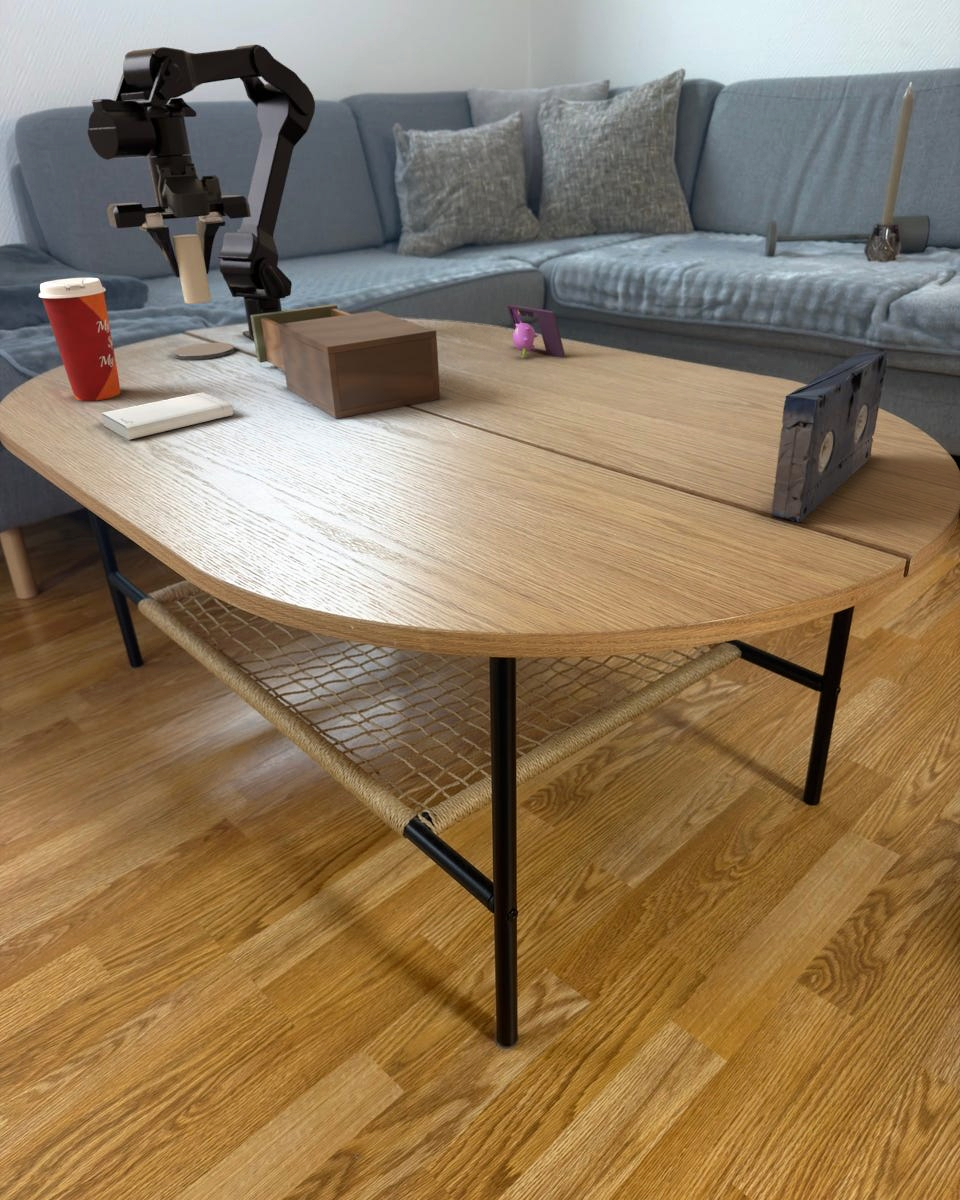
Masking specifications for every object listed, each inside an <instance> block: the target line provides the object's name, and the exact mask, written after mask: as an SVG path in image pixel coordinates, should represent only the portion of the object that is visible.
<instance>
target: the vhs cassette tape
mask: <svg viewBox="0 0 960 1200" xmlns="http://www.w3.org/2000/svg"><path fill="white" fill-rule="evenodd" d="M887 359H888V351H887V352H886V351H879V350H868V349H861V350H860V351H859V352H858V353H855V354H853V355H852V356H850V357H848V358H847V359H845V360H843V361H842V362H840V363H839V364H837V365H835V366H833V367H831V368H829V369H827V370H826V371H825V372H823V373H822V374H821V375H819V376H816V377H814V378H813V379H812V380H811V381H810V382H809V383H808V384H807V385H803V386H801V387H799V388H797V389H795V390H794V391H792V392H790V393H789V394H787V395H785V400H784V404H783V410H782V419H781V424H782V427H781V430H780V434H779V436H780V437H779V443H778V453H777V463H776V470H775V477H774V479H775V482H774V484H773V485H774V487H773V495H772V496H773V497H772V503H771V512H770V515H771V516H772V517H776V518H781V519H785V520H789V521H792V522H796V521H797V523H801V522H802V521H803V520H804V519H806V518H807V517H808V516H809V514H811V513H812V512H814V511H815V509H816V508H818V507H819V506H820V505H821V504H822V503H824V501H826V500H827V499H828V498H829V497H830V496H831V495H832V494H833V493H834V492H835V491H836V490H837V489H838V488H839V487H841V486H842V485H843V484H844V483H845V482H846V481H847V480H849V478H851V477H852V476H853V475H854V474H855V473H856V472H857V471H858V470H859V469H861V468H862V467H863V466H864V465H865V464H866V463H867V462H868V461H869V460H870V458H871V455H872V447H873V442H874V439H873V438H874V437H873V436H874V435H875V431H876V426H877V420H878V415H879V408H880V402H881V397H882V388H884V386H883V385H884V380H885V376H886V374H887V362H888V360H887Z"/></svg>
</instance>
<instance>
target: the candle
mask: <svg viewBox="0 0 960 1200" xmlns="http://www.w3.org/2000/svg"><path fill="white" fill-rule="evenodd" d="M171 239H172V245H173V250H174V254H175V257H176V261H177V264H178V269H179V275H180V277H179V280H180V284H181V291H182V295H183V300H184V304H187V305H198V304H204V303H205V304H206V303H209V302H211V301H212V296H211V291H210V285H209V279H208V274H207V273H206V268H205V262H204V256H203V251H202V245H201V240H200V235H197V233H196V234H194V233H193V234H180V235H174V236H172V237H171Z"/></svg>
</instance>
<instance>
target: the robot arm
mask: <svg viewBox="0 0 960 1200" xmlns="http://www.w3.org/2000/svg"><path fill="white" fill-rule="evenodd" d="M122 66H123V67H122V74H121V78H120V81H119V83H118V86H117V88H116V92H115V96H114V98H113V99H110V98H100V99H92V101H91V104H92V108H93V111H92V112H91V113H90V116H89V118H88V128H87V136H88V139H89V142H90V144H91V147H92V149H93V150H94V152H95V153H96V154H97V155H98V157H100V158H102V159H104V160H110V161H111V160H123V159H124V160H125V159H141V158H145V157H147V160H148V168H149V173H150V174H151V179H152V184H153V189H154V195H155V197H154V198H155V204H156V205H152V206H143V204H142V203H140V202H134V201H133V202H122V203H120V202H119V203H110V204H109V205H108V207H107V209H106V212H107V217H108V222H109V225H110V227H113V228H115V229H127V228H139V231H142V232H144V233H148V234H149V235H150V237H151V239H152V240H153V241H154V243H155V244H156V245H157V246H158V249H159V250H160V252H161V253H162V255H163V257H164V259H165V260H166V262H167V264H168V266H169V268H170V270H171V271H172V274H174V277H176V278H180V275H179V269H178V264H177V260H176V254H175V249H174V246H173V243H172V240H171V235H170V227H169V226H167V225H165V224H164V220H173V219H186V218H196V217H198V220H195V228H196V235H200V240H201V245H202V251H203V256H204V262H205V268H206V273H207V275H208V274H209V272H210V264H211V258H212V251H213V246H214V241H215V237H216V234H217V232H218V230H219V229H220V227H225V226H226V221H223V217H227V218H229V219H230V220H232V219H242V221H241V225H240V227H239V228H238V229H237V230H236V231H235V232H234V231H232V232H231V231H226V232H225V233H224V234H223V237H222V246H221V250H220V252H219V254H218V255H217V258H218V259H220V260H219V272H220V274H221V275H222V277H223V280H224V281H225V283H226V286H227V287H228V289H229V292H230V294H231V296H232V297H233V298H243V303H244V309H245V316H246V321H247V328H248V330H244V331H242V335H243V336H245V337H247V338H248V339H250V340H252V341H254V335H253V329H252V323H251V315H256V314H263V313H271V312H279V311H283V309H282V303H281V302H282V301H281V299H285V298H286V297H290V296H291V294H292V287H293V286H292V280H291V279H289V277H288V276H287V275H286V274H285V273H284V272H283V271H282V270H281V269H280V268H279V266H278V263H279V253H278V249H277V245H276V242H275V239H274V234H275V230H276V225H277V221H278V217H279V212H280V208H281V203H282V200H283V195H284V191H285V190H284V189H285V186H286V183H287V178H288V173H289V171H290V170H289V169H290V164H291V161H292V157H293V153H294V149H295V147H296V145H298V143H299V142H300V141H301V140H302V139H303V137H304V136H305V135H306V134H307V132H308V131H309V128H310V126H311V123H312V121H313V118H314V116H315V110H316V101H315V98H314V95H313V92H312V91H311V90H310V88H309V87H308V85H307V83H305V82H303V80H302V79H301V78H300V77H299V76H298V75H297V73H296V72H295V71H293V70H292V69H290V68H289V67H287V66H286V65H284V63H281V62H280V61H279V60H278V59H276V58H275V57H274V56H273V55H272V54H271V52H270V51H269V50H268V49H267V48H266V47H265V46H262V45H260V44H249V45H240V46H236V47H235V48H231V49H230V48H229V49H224V50H223V49H222V50H214V51H205V52H195V53H194V52H189V51H186V50H184V49H178V48H173V47H165V46H160V47H153V48H152V47H151V48H143V49H135V50H131V51H128V52H127V53H126V54H125V55H124V60H123V65H122ZM260 78H262V79H263V80H264V81H265V82H266V84H265V83H264V82H263V81H262V79H260ZM234 79H239V80H241V81H242V83H243V87H244V89H245V92H246V93H245V94H246V96H247V97H248V99H249V101H251V102H252V103H253V104H254V105H255V107H256V108H257V109H256V120H257V124H258V127H259V130H260V134H261V138H260V143H259V148H258V151H257V156H256V161H255V165H254V169H253V174H252V177H251V181H250V186H249V190H248V191H249V192H248V195H247V198H246V197H245V196H244V195H238V194H227V195H222V189H221V184H220V180H219V178H218V176H217V175H215V174H210V175H202V176H201V179H200V178H199V177H198V175H197V172H196V171H197V170H196V167H195V163H194V162H193V158H192V155H191V154H192V153H191V147H190V140H189V136H188V131H187V130H188V129H187V124H186V118H196V117H197V112H196V110H195V109H194V108H192V107H191V106H190V105H188V103H187V102H186V101H185V100H184V99H183V98H182V97H181V96H184V95H185V94H188V93H190V92H193V91H194V89H196V88H197V87H198V86H200V85H204V84H209V83H215V82H223V81H228V80H229V81H230V80H234ZM148 108H149V109H148Z"/></svg>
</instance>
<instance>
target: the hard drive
mask: <svg viewBox="0 0 960 1200" xmlns="http://www.w3.org/2000/svg"><path fill="white" fill-rule="evenodd" d="M233 415H234V408H233V405H232V404H231V403H230V402H228V401H226V400H223V399H221V398H218V397H216V396H214V395H211V394H208V393H206V392H203V391H201V392H197V393H191V394H186V395H183V396H177V397H172V398H168V399H163V400H157V401H153V402H149V403H144V404H139V405H134V406H129V407H124V408H118V409H114V410H109V411H105V412H101V413H100V417H101V421H102V425H103V426H105V427H106V428H108V429H110V430H111V431H112V432H115V433H116V434H118V435H119V436H122V437H123V438H124V439H126V440H128V441H129V440H134V439H137V438H142V437H147V436H151V435H155V434H159V433H164V432H167V431H172V430H177V429H180V428H184V427H189V426H192V425H196V424H201V423H205V422H209V421H214V420H218V419H222V418H226V417H231V416H233Z"/></svg>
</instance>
